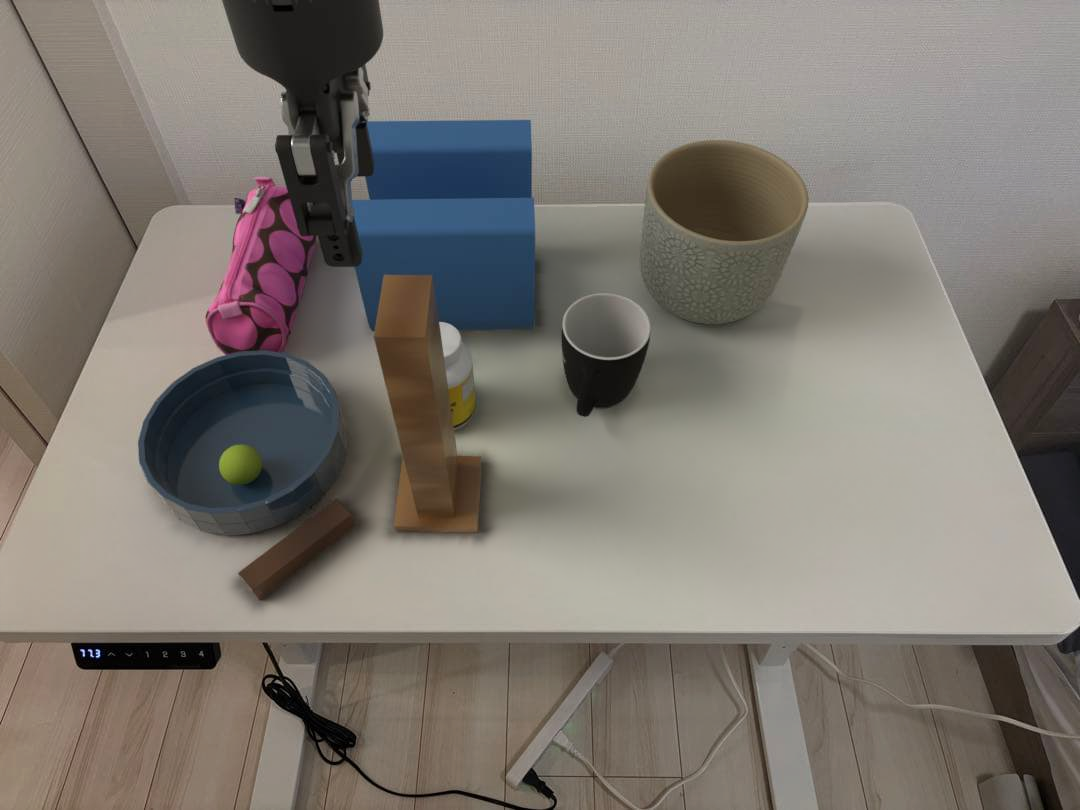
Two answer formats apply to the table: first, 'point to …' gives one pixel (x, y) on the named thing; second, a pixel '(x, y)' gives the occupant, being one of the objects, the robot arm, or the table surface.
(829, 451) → the table surface
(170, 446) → the bowl
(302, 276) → the pencil case
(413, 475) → the stand
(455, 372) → the pill bottle
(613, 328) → the mug
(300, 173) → the robot arm
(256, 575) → the stick
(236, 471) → the grape
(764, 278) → the planter
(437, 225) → the block
